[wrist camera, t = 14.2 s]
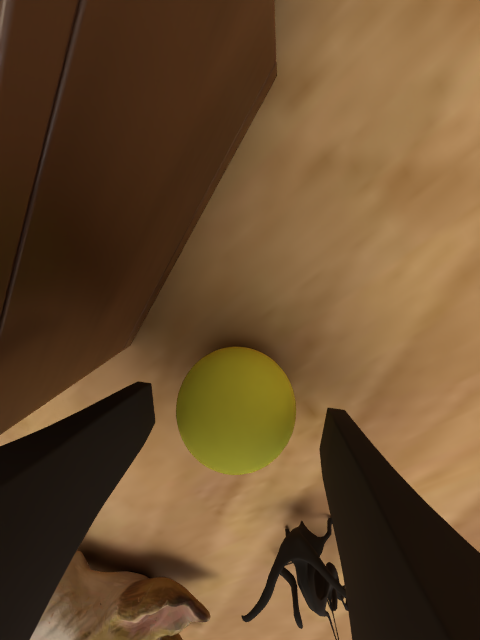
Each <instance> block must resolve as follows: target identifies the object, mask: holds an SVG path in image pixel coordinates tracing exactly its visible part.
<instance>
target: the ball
mask: <svg viewBox="0 0 480 640" xmlns="http://www.w3.org/2000/svg"><path fill="white" fill-rule="evenodd" d="M176 417H177V424H178V428H179V432H180V435H181V437H182V440H183V441H184V443H185V445H186V447H187V449H188V450H189V451H190V453H191V454H192V455H193V456H194V457H195V458H196V459H197V460H198V461H199V462H200V463H202V464H203V465H205V466H206V467H208V468H210V469H212V470H214V471H217V472H220V473H223V474H229V475H241V474H248V473H252V472H255V471H257V470H260V469H261V468H263V467H265V466H267V465H268V464H270V463H271V462H272V461H273V460H275V459H276V458H277V457H278V456H279V455H280V454H281V452H282V451H283V449H284V448H285V446H286V445H287V443H288V441H289V439H290V437H291V435H292V432H293V428H294V424H295V418H296V402H295V397H294V392H293V389H292V386H291V384H290V381H289V379H288V378H287V376H286V374H285V373H284V371H283V370H282V369H281V368H280V366H279V365H278V364H277V363H276V362H275V361H274V360H272V359H271V358H270V357H268V356H267V355H265V354H263V353H261V352H259V351H257V350H254V349H250V348H245V347H227V348H222V349H219V350H216V351H214V352H212V353H209V354H208V355H206V356H205V357H203V358H202V359H200V360H199V361H198V362H197V363H196V364H195V365H194V366H193V367H192V368H191V370H190V371H189V372H188V374H187V375H186V377H185V379H184V381H183V382H182V385H181V387H180V390H179V393H178V398H177V405H176Z"/></svg>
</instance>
